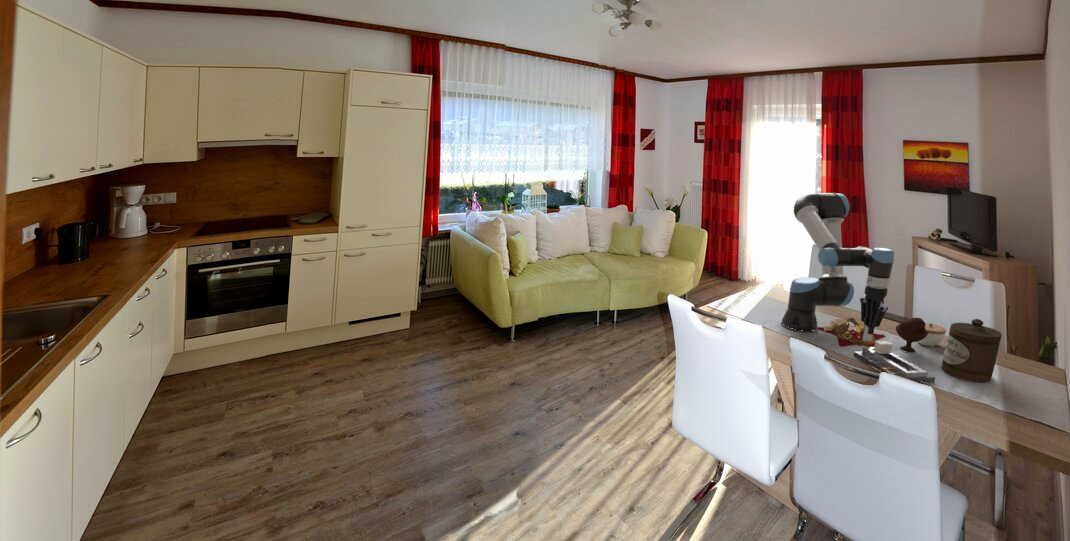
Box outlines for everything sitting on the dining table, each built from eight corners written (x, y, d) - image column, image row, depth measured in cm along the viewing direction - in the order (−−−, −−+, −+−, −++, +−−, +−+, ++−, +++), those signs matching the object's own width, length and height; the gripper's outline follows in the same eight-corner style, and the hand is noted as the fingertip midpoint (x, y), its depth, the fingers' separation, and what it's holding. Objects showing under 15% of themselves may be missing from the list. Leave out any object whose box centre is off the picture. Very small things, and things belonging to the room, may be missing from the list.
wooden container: (933, 363, 199) (945, 311, 193) (978, 367, 195) (991, 315, 189) (951, 379, 185) (964, 324, 180) (999, 385, 181) (1015, 329, 175)
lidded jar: (947, 349, 212) (952, 329, 209) (919, 347, 214) (924, 327, 211) (933, 339, 222) (938, 320, 219) (906, 337, 224) (911, 318, 221)
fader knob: (872, 355, 201) (874, 341, 199) (883, 355, 201) (886, 340, 200) (878, 359, 198) (881, 344, 196) (890, 358, 198) (893, 344, 196)
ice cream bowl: (917, 346, 214) (924, 314, 210) (927, 357, 204) (935, 323, 200) (888, 343, 218) (895, 311, 214) (897, 353, 208) (904, 320, 204)
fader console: (853, 355, 205) (855, 347, 204) (885, 354, 206) (887, 346, 205) (898, 383, 182) (900, 373, 181) (934, 382, 183) (936, 372, 182)
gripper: (856, 281, 207) (847, 334, 213) (879, 291, 195) (869, 346, 201) (873, 281, 208) (864, 334, 214) (898, 290, 195) (887, 346, 201)
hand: (866, 340), depth 207 cm, fingers closed
